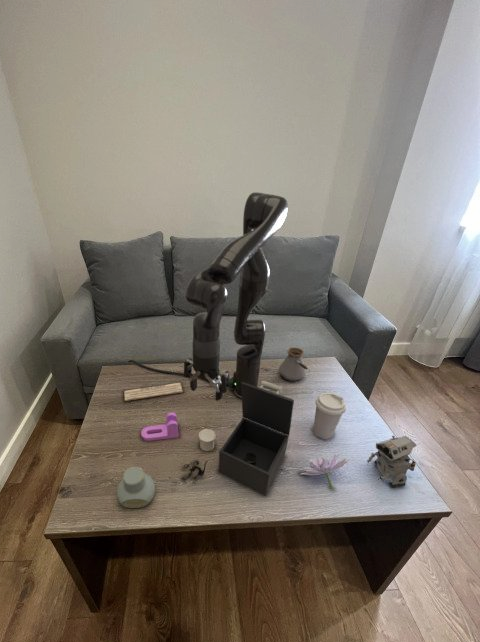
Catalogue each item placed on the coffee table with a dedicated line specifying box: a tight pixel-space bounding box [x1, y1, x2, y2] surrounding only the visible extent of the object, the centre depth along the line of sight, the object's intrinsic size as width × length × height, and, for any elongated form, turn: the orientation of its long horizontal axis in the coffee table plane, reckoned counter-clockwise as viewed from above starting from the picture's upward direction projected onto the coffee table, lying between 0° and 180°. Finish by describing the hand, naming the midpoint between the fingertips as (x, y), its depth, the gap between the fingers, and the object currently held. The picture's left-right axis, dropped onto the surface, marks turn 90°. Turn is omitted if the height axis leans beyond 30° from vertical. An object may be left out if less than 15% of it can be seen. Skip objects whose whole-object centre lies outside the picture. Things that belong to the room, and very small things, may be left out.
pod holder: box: [244, 453, 257, 466], centre depth 98 cm, size 4×4×5 cm
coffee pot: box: [278, 347, 310, 382], centre depth 132 cm, size 21×12×15 cm, turn 179°
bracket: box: [140, 411, 180, 442], centre depth 112 cm, size 13×6×7 cm, turn 98°
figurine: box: [366, 435, 417, 489], centre depth 93 cm, size 9×12×15 cm
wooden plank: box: [123, 382, 183, 402], centre depth 133 cm, size 24×7×2 cm, turn 102°
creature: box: [182, 460, 208, 481], centre depth 98 cm, size 8×5×8 cm
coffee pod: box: [198, 428, 217, 452], centre depth 107 cm, size 6×6×5 cm
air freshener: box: [116, 466, 156, 509], centre depth 91 cm, size 11×8×10 cm
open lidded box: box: [218, 417, 290, 497], centre depth 99 cm, size 17×16×10 cm
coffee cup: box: [312, 391, 347, 440], centre depth 109 cm, size 10×10×15 cm
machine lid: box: [241, 380, 295, 437], centre depth 98 cm, size 17×16×5 cm
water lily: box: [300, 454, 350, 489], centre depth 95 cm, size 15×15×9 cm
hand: (205, 394), depth 97 cm, fingers open, 8 cm apart
